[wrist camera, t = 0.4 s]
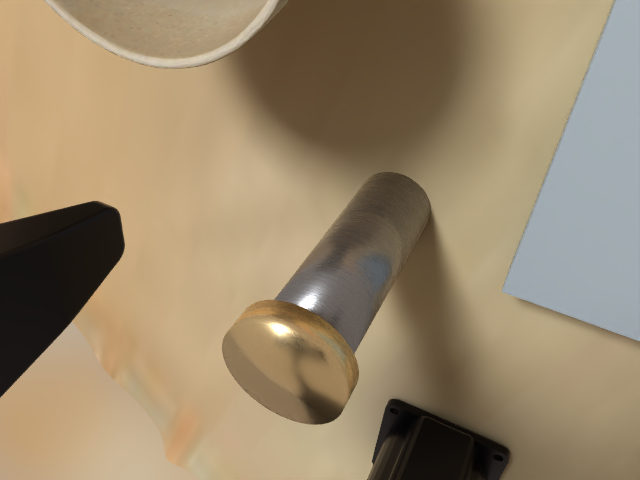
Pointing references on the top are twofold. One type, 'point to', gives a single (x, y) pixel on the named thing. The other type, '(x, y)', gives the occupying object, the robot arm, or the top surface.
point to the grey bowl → (168, 27)
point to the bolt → (328, 305)
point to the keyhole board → (592, 195)
